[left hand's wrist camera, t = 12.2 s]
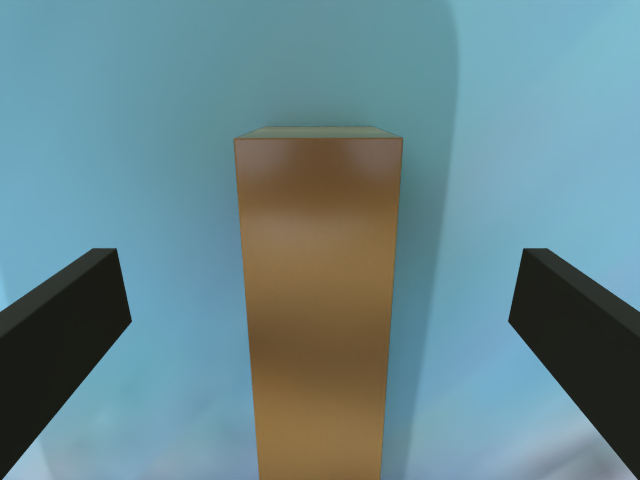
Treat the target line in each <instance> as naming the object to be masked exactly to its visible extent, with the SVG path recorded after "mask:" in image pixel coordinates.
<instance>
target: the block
mask: <svg viewBox="0 0 640 480" xmlns="http://www.w3.org/2000/svg"><path fill="white" fill-rule="evenodd" d="M402 150H403V138H402V137H399V136H396V135H394V134H391V133H388V132H386V131H383V130H380V129H378V128H375V127H263V128H260V129H258V130H255V131H252V132H250V133H247V134H244V135H242V136H239V137H236V138H234V152H235V165H236V178H237V192H238V205H239V218H240V231H241V244H242V258H243V271H244V284H245V297H246V310H247V323H248V337H249V350H250V363H251V376H252V389H253V403H254V416H255V429H256V442H257V455H258V468H259V480H380V474H381V460H382V445H383V430H384V415H385V401H386V386H387V371H388V356H389V342H390V327H391V312H392V297H393V283H394V268H395V253H396V238H397V224H398V209H399V194H400V179H401V164H402Z"/></svg>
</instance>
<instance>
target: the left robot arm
mask: <svg viewBox="0 0 640 480" xmlns="http://www.w3.org/2000/svg"><path fill="white" fill-rule="evenodd" d="M131 322H132V320H131V315H130V310H129V305H128V301H127V296H126V291H125V286H124V281H123V277H122V272H121V267H120V262H119V258H118V253H117V248H93V249H91V250H90V251H88V252H87V253H85V254H84V255H83V256H81V257H80V258H78V259H77V260H75V261H74V262H72V263H71V264H69V265H68V266H67V267H65V268H64V269H62V270H61V271H59V272H58V273H56V274H55V275H53V276H52V277H51V278H49V279H48V280H46V281H45V282H43V283H42V284H40V285H39V286H37V287H36V288H35V289H33V290H32V291H30V292H29V293H27V294H26V295H24V296H23V297H21V298H20V299H19V300H17V301H16V302H14V303H13V304H11V305H10V306H8V307H7V308H5V309H4V310H3V311H1V312H0V480H2V479H3V478H4V477H5V476H6V474H7V473H8V472H9V471H10V469H11V468H12V467H13V466H14V465H15V463H16V462H17V461H18V460H19V458H20V457H21V456H22V455H23V454H24V452H25V451H26V450H27V449H28V447H29V446H30V445H31V444H32V443H33V441H34V440H35V439H36V438H37V437H38V435H39V434H40V433H41V432H42V430H43V429H44V428H45V427H46V426H47V424H48V423H49V422H50V421H51V419H52V418H53V417H54V416H55V415H56V413H57V412H58V411H59V410H60V408H61V407H62V406H63V405H64V404H65V402H66V401H67V400H68V399H69V398H70V396H71V395H72V394H73V393H74V391H75V390H76V389H77V388H78V387H79V385H80V384H81V383H82V382H83V380H84V379H85V378H86V377H87V376H88V374H89V373H90V372H91V371H92V369H93V368H94V367H95V366H96V365H97V363H98V362H99V361H100V360H101V359H102V357H103V356H104V355H105V354H106V352H107V351H108V350H109V349H110V348H111V346H112V345H113V344H114V343H115V341H116V340H117V339H118V338H119V337H120V335H121V334H122V333H123V332H124V330H125V329H126V328H127V327H128V326H129V324H130V323H131ZM508 322H509V323H510V324H511V326H512V327H513V328H514V329H515V330H516V332H517V333H518V334H519V335H520V337H521V338H522V339H523V340H524V341H525V343H526V344H527V345H528V346H529V348H530V349H531V350H532V351H533V352H534V354H535V355H536V356H537V357H538V359H539V360H540V361H541V362H542V363H543V365H544V366H545V367H546V368H547V369H548V371H549V372H550V373H551V374H552V376H553V377H554V378H555V379H556V380H557V382H558V383H559V384H560V385H561V387H562V388H563V389H564V390H565V391H566V393H567V394H568V395H569V396H570V398H571V399H572V400H573V401H574V402H575V404H576V405H577V406H578V407H579V408H580V410H581V411H582V412H583V413H584V415H585V416H586V417H587V418H588V419H589V421H590V422H591V423H592V424H593V426H594V427H595V428H596V429H597V430H598V432H599V433H600V434H601V435H602V437H603V438H604V439H605V440H606V441H607V443H608V444H609V445H610V446H611V447H612V449H613V450H614V451H615V452H616V454H617V455H618V456H619V457H620V458H621V460H622V461H623V462H624V463H625V465H626V466H627V467H628V468H629V469H630V471H631V472H632V473H633V474H634V476H635V477H636V478H637V479H638V480H640V312H639V311H637V310H636V309H635V308H633V307H632V306H630V305H629V304H627V303H626V302H624V301H623V300H621V299H620V298H619V297H617V296H616V295H614V294H613V293H611V292H610V291H608V290H607V289H605V288H604V287H603V286H601V285H600V284H598V283H597V282H595V281H594V280H592V279H591V278H589V277H588V276H587V275H585V274H584V273H582V272H581V271H579V270H578V269H576V268H575V267H573V266H572V265H571V264H569V263H568V262H566V261H565V260H563V259H562V258H560V257H559V256H557V255H556V254H555V253H553V252H552V251H550V250H549V249H547V248H523V253H522V258H521V262H520V267H519V272H518V277H517V281H516V286H515V291H514V296H513V301H512V305H511V310H510V315H509V320H508Z"/></svg>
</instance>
